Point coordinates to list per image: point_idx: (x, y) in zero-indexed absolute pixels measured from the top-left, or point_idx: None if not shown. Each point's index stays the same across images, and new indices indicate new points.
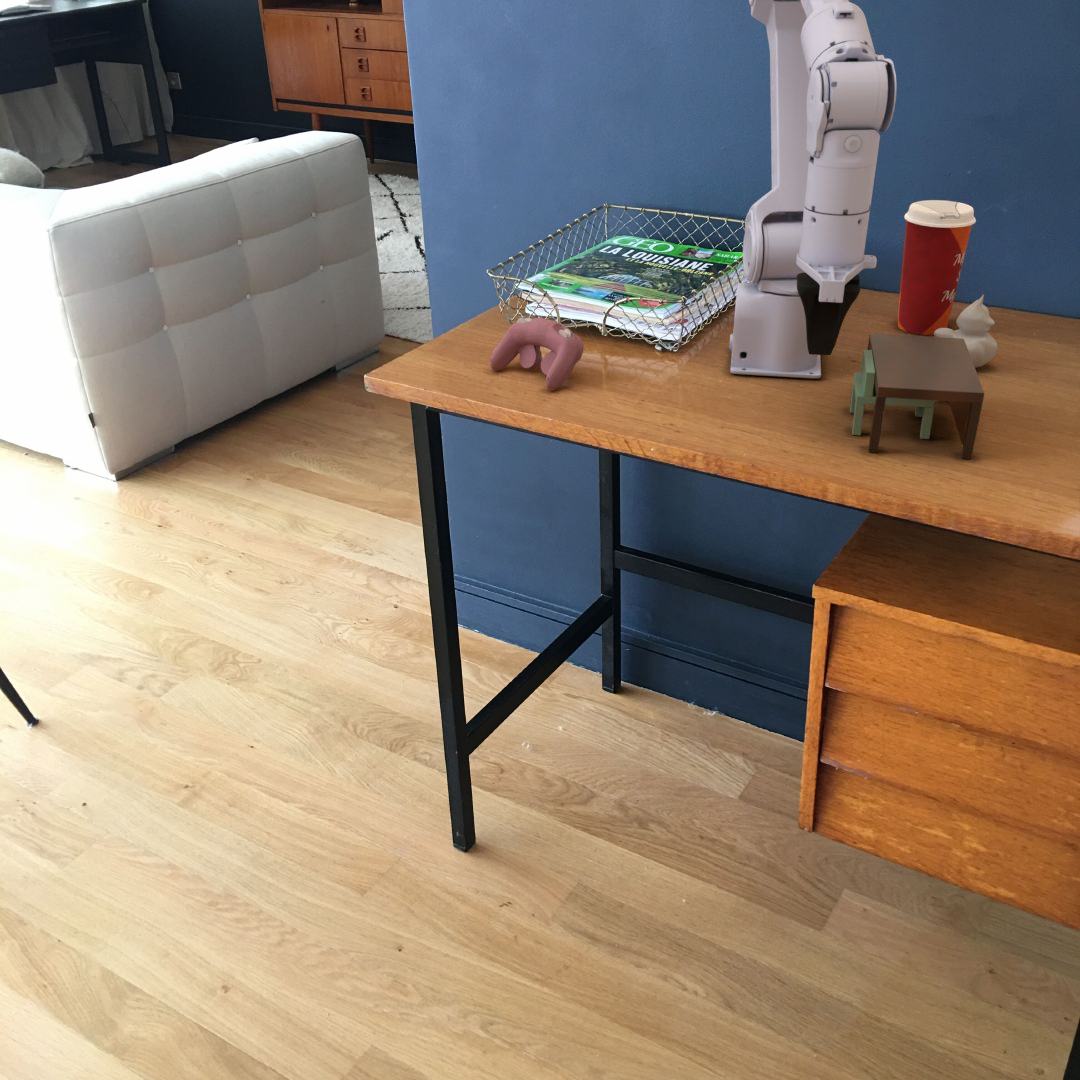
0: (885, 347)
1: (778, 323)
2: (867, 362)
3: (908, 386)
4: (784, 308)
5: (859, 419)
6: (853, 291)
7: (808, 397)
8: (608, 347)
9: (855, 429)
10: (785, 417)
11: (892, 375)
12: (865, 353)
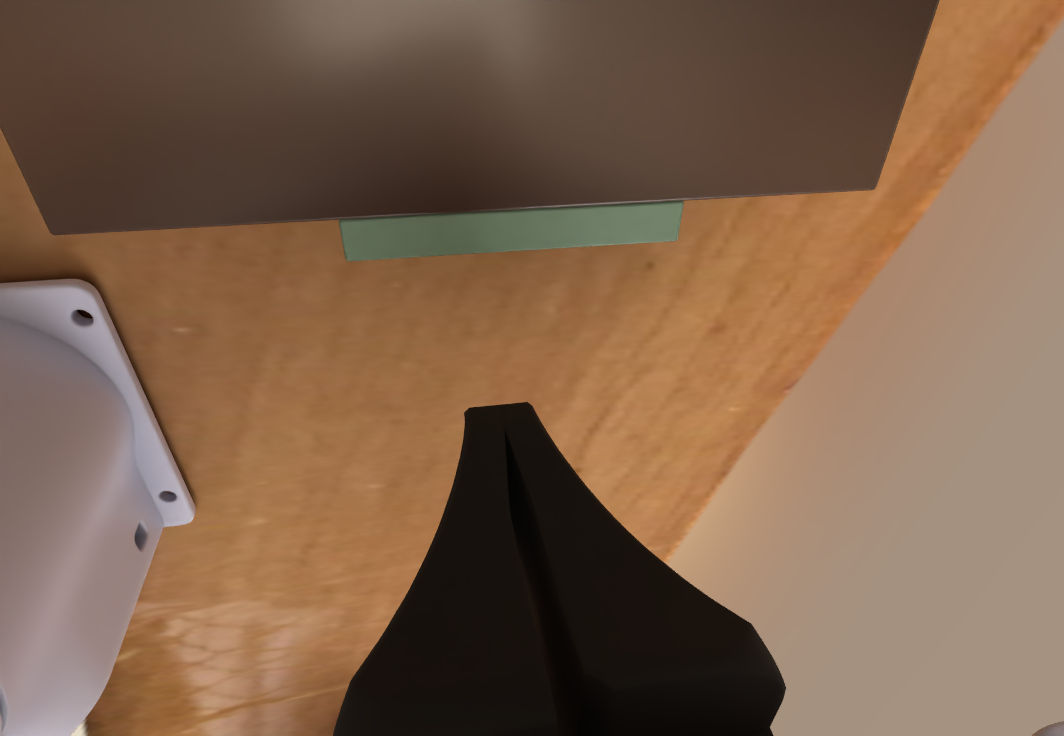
0: (281, 144)
1: (63, 575)
2: (545, 239)
3: (904, 34)
4: (27, 628)
5: None
6: (782, 688)
7: (287, 300)
8: (143, 724)
9: None
10: (481, 349)
11: (740, 118)
12: (411, 251)
